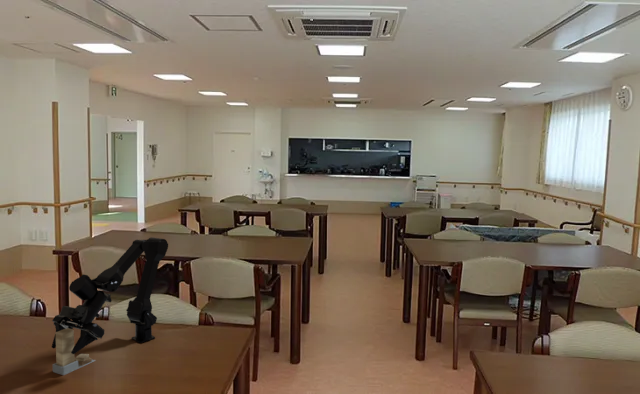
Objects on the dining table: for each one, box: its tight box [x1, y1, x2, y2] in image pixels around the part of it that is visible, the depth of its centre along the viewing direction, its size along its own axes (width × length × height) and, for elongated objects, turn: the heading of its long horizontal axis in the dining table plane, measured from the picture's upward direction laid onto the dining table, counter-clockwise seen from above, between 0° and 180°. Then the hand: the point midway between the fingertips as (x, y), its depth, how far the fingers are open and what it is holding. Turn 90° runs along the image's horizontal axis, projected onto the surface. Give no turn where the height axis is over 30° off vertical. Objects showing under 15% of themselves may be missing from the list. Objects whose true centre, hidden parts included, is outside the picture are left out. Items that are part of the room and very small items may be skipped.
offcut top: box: [75, 353, 90, 361], centre depth 159 cm, size 3×3×1 cm
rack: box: [52, 358, 97, 376], centre depth 157 cm, size 12×5×4 cm, turn 155°
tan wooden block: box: [54, 328, 76, 367], centre depth 153 cm, size 4×3×13 cm
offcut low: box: [75, 356, 93, 367], centre depth 159 cm, size 4×4×1 cm
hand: (62, 350), depth 152 cm, fingers open, 9 cm apart
